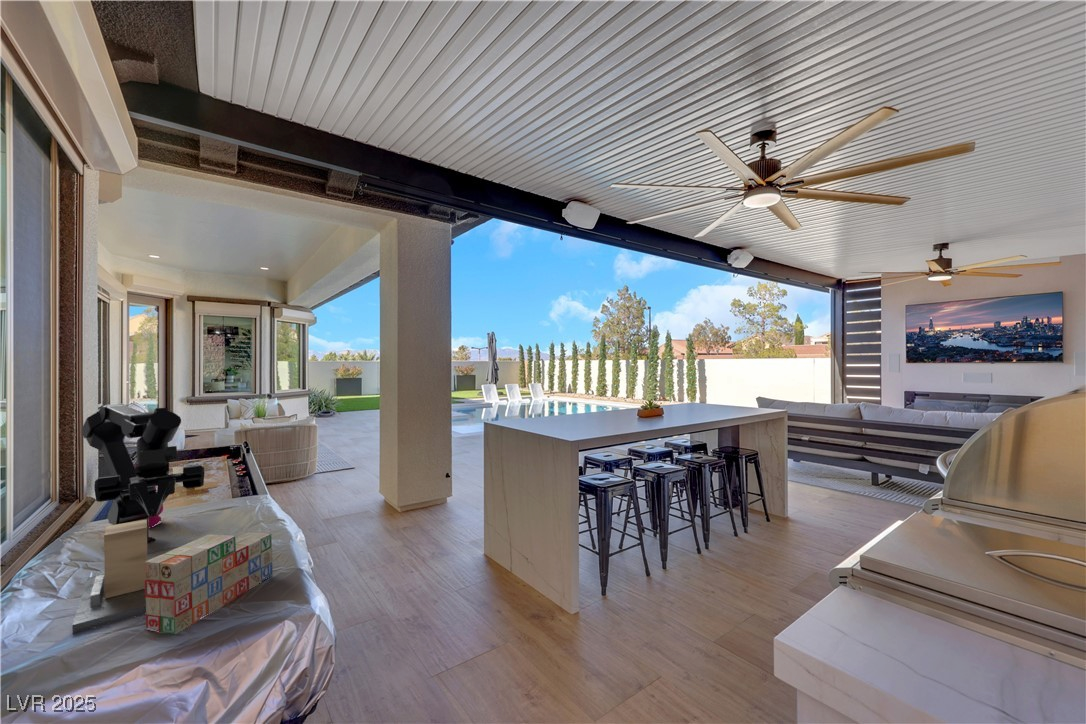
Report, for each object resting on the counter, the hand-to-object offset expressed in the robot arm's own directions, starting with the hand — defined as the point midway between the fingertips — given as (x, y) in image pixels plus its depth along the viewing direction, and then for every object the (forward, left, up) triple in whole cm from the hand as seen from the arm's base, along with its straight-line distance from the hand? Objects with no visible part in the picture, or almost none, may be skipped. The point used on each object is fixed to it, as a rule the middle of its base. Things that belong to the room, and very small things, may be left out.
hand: (152, 515), depth 100 cm
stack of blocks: (+25, -1, -13) cm, 28 cm away
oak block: (+7, -7, -11) cm, 15 cm away
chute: (+6, -7, -13) cm, 15 cm away
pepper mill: (-35, +15, -13) cm, 40 cm away
